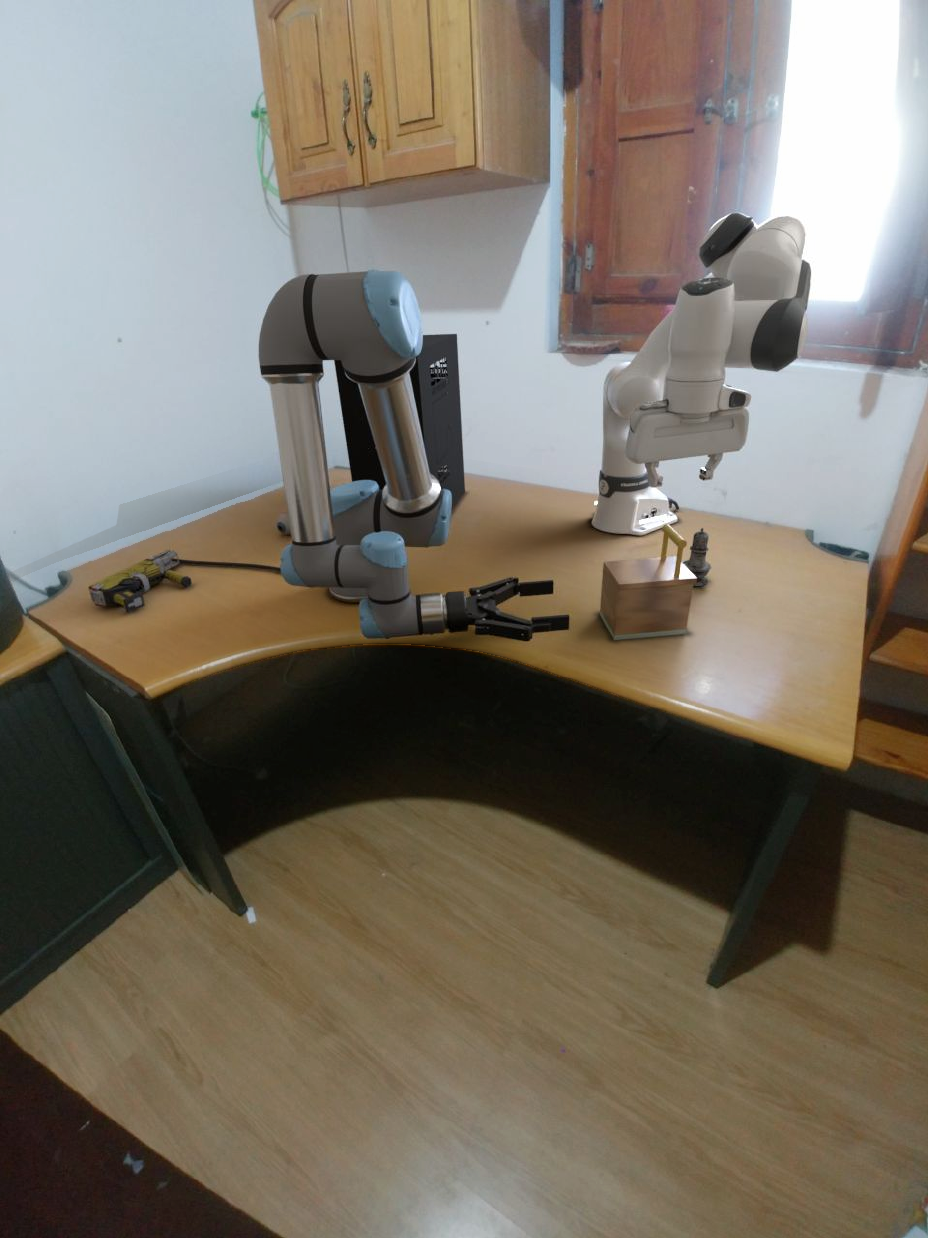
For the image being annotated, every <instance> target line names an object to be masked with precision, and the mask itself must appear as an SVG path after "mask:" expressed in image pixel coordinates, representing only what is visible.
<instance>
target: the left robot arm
mask: <svg viewBox="0 0 928 1238" xmlns="http://www.w3.org/2000/svg"><path fill="white" fill-rule="evenodd" d="M260 326H261V327H260V331H259V337H258V363H259V371H260V377H261V378H262V379H263V380H264V381H265V382H266V383H267V385H269V392H270V399H271V406H272V413H273V419H274V427H275V434H276V441H277V448H278V455H279V461H280V467H281V475H282V482H283V488H284V496H285V503H286V509H287V512H288V517H289V524H290V531H291V534H290V537H291V538H290V539H291V544H288V545H286V546H285V547H284V548H283V550H282V551H281V554H280V564H279V567H278V566H272V565H265V564H256V563H245V562H244V563H243V562H226V561H205V560H191V559H182V558H178V559H179V564H189V565H199V566H201V565H202V566H217V567H219V566H220V567H239V568H250V569H251V568H254V569H261V570H262V569H263V570H270V571H275V572H280V573H281V576H282V578H283V580H284V582H285V583H286V584H288V585H290V586H293V587H302V588H309V589H314V588H328V590H329V594H330V596H331V597H332V598H333V599H335V600H336V601H339V602H343V603H348V604H351V603H352V604H358V618H359V626H360V632H361V634H362V636H363V637H364V638H365V639H369V640H373V639H379V640H380V639H385V640H389V639H393V638H404V637H405V638H406V637H414V636H423V635H424V636H426V635H428V636H429V635H430V636H433V635H437V634H438V635H440V634H446V631H448V633H450V634H456V633H466V632H468V631H469V627H470V626H474V635H476V636H490V637H497V638H502V639H507V640H508V639H509V640H514V641H520V642H527V643H528V642H530V641H531V640H532V639H533V634H537V633H539V634H541V633H549V632H560V631H570V614H556V615H555V614H554V615H545V616H532V617H531V620H530V619H527V618H523V617H519V616H517V615H513V614H510V613H506V612H504V611H501V609H500V608H498V606H500V605H501V604H503V603H505V602H506V601H508V600H510V599H513V598H514V597H515V596H517V595H519V597H521V598H522V597H533V596H535V597H536V596H546V595H547V596H548V595H554V588H555V587H554V585H555V582H554V579H547V580H535V581H534V580H533V581H523V582H521V581H520V578H519V577H516V576H515V577H513V576H510V577H506V578H504V579H500V580H497V581H493V582H491V583H488V584H484V585H482V586H476V587H469V589H468V597H467V594H466V591H464V590H458V591H457V590H456V591H447V592H445V595H443V592H432V593H431V592H430V593H421V594H419V593H418V594H411V588H410V587H411V585H410V574H409V564H408V563H409V558H408V556H407V550H406V548H427V549H428V548H434V547H436V548H437V547H442V546H444V545H445V544H446V543H447V541H448V538H449V533H450V529H451V528H450V527H451V519H452V511H451V507H452V495H451V492H450V491H449V490H446V489H442V490H441V488H440V483H439V481H438V480H437V478H436V477H435V476H433V475H432V474H430V472H429V468H428V463H427V458H426V453H425V448H424V443H423V438H422V433H421V428H420V423H419V418H418V413H417V408H416V404H415V399H414V394H413V389H412V384H411V379H410V374H409V371H410V370H411V369H412V368H413V366H414V364H415V361H416V356H418V355H419V354H420V352H421V349H422V343H423V335H424V331H423V327H422V314H421V310H420V306H419V302H418V298H417V296H416V294H415V291H414V289H413V286H412V285H411V282H410V281H409V280H408V279H407V277H406V276H404V275H403V274H402V273H400V272H398V271H396V270H379V269H375V268H373V269H368V270H367V271H350V272H337V273H336V272H335V273H321V274H315V273H309V274H308V273H307V274H301V275H298V276H295V277H293V278H291V279H290V280H288V281H287V282H285V283H284V284H283V285H282V286H281V287H280V288H279V289H278V290H277V291H276V292H275V294H274V296H273V297H272V299H271V300H270V301H269V303H268V305H267V308H266V311H265V314H264V316H263V318H262V323H261V325H260ZM334 360H341V362H342V365H343V368H344V371H345V374H346V376H347V377H348V378H349V379H350V380H351V381H353V382H355V383H358V386H359V389H360V393H361V396H362V400H363V403H364V407H365V410H366V414H367V417H368V421H369V424H370V428H371V431H372V435H373V438H374V442H375V445H376V449H377V452H378V456H379V459H380V463H381V466H382V470H383V473H384V477H385V481H386V485H385V487H384V489H383V490H379V486H378V484H377V482H375V481H371V480H359V481H354V482H352V481H349V482H346V483H342V484H340V485H338V486H335V487H333V488H331V486H330V485H331V484H330V475H329V468H328V467H329V465H328V458H327V451H326V450H327V449H326V440H325V431H324V422H323V413H322V412H323V411H322V403H321V393H320V385H319V383H320V381H321V380H322V379H323V377H324V375H325V373H324V361H334ZM171 561H173V563H174V562H178V560H177V558H176V557H174V558H172V559H171Z"/></svg>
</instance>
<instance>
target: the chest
mask: <svg viewBox="0 0 928 1238" xmlns="http://www.w3.org/2000/svg"><path fill="white" fill-rule="evenodd" d="M693 590H694V586H693V584H682V585H670V586H658V587H646V588H634V589H622V590H619V589H618V588H617V586H616V585H615V584H614V582H613V581H612V579H611V578H610V576H609V575H608V573H607V572H606V570H605V569H604V567H603V566H602V578H601V592H600V604H599V605H600V606H599V616H600V618H601V619H602V622H603V623H604V625H605V627H606V628H607V630H608V632H609V633H610V635H611V637H612V639H613V640H614V641H616V640H617V641H620V640H631V639H641V638H653V637H665V636H676V635H686V634H687V627H688V620H689V615H690V608H691V602H692V596H693Z"/></svg>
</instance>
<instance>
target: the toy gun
mask: <svg viewBox="0 0 928 1238" xmlns="http://www.w3.org/2000/svg"><path fill="white" fill-rule="evenodd" d="M172 558H176V559H177V560H178V562H173V561H171V559H172ZM179 559H180V558H179V554H178V552H177V551H176V550H172V551H171V549H166V550H165V551H163V552H159V554H155V555H154V556H152V557H150V558H145V559H144V560H141V561H138V562H137V563H135V564H133V565H131V566H130V565H129V567H128V566H127V567H126V568H124V569H122V570H120V571H118V572H116V573H113V574H111V575H109V576H107V577H105V578H103V579H100V580H98V581H97V582H94V583H92V584H90V585H88V588H87V589H88V592H89V595H90V600H91V602H92V604H94V605H95V607H99V608H103V607H112V606H117V605H121V606H123V607H124V609H125V612H126V613H128V614H129V613H131V612H133V611H136V610H138V609H140V608H143V607H145V605H146V604H145V600H144V595H143V594H145V593H146V592H149V591H150V589H151V587H152V586H154V585H156V584H159V583H161V582H163V581H164V580H166V581H169V582H171V583H174V584H177V585H181V586H182V588H188V587H190V586H191V585H192V582H193V581H192V578H191V577H190V576H186V575H184V574H181V573H178V572H177V571H174V570H172V569H173V568H175V567H177V566H179V565H180V563H179Z"/></svg>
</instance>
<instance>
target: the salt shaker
mask: <svg viewBox="0 0 928 1238" xmlns="http://www.w3.org/2000/svg"><path fill="white" fill-rule="evenodd" d="M708 543H709V534H708V533H707V532H706V531H705V529H704V527H701V528H700V530H699V531H697V532H695V533H694V534H693V539H692V545H691V546H690V547H689V549H690V556H689V558H688V559H685V560H684V561H682V563H683V564H684V565H685V566H686V567H687V568H688V569H689V570H690V571H691V572H692V573H693V574H694V575H695V576H696V577H697V583H694V584H693V587H702V586H705V585H707V584H708V579H707V578H706V576H707V575H708V574H709V572H710V571H711V569H712V565H711V563H709V561H706V558H707V552H709V548H708Z"/></svg>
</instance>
